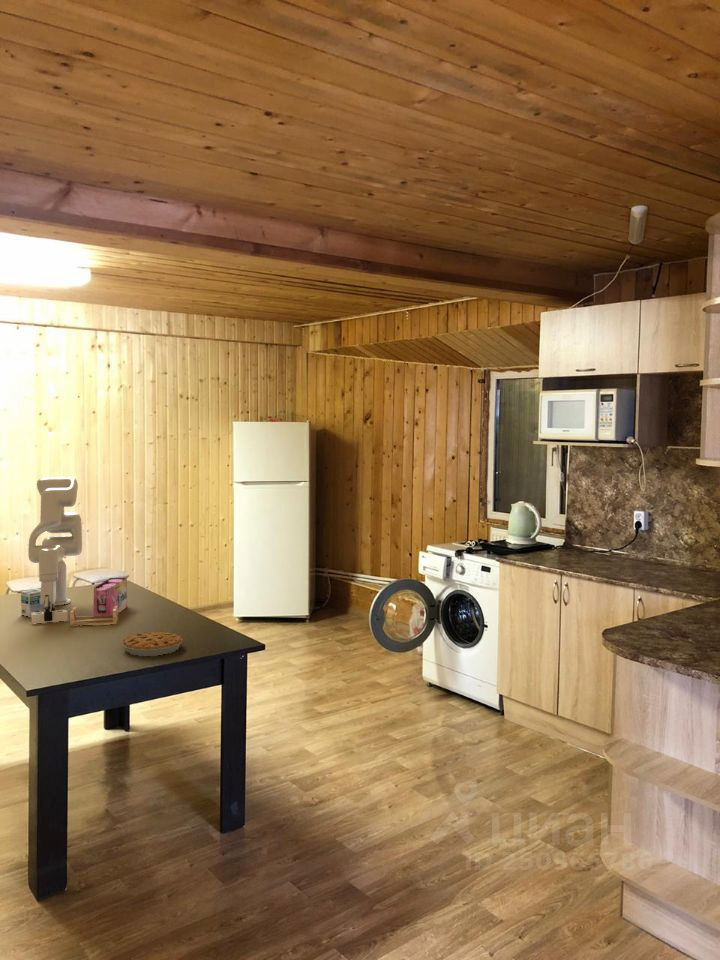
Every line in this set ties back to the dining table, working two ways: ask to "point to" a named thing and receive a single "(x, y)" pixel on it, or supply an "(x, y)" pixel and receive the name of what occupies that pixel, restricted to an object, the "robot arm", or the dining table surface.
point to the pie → (152, 643)
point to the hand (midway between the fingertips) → (49, 618)
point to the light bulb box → (31, 602)
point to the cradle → (93, 618)
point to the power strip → (56, 616)
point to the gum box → (110, 596)
